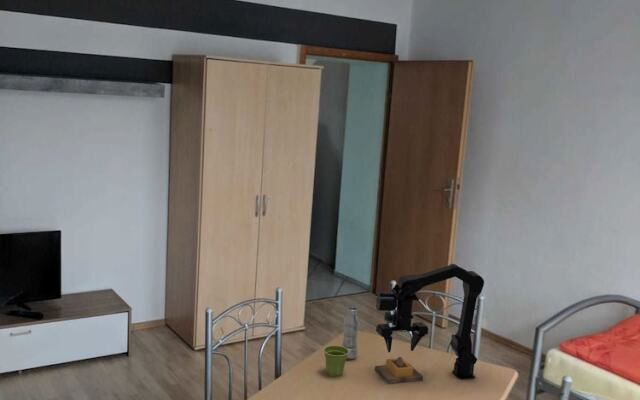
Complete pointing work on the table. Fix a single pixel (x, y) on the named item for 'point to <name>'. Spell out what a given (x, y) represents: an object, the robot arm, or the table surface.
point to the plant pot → (335, 359)
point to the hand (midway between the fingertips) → (400, 351)
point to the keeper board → (392, 379)
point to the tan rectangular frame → (399, 372)
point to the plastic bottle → (351, 332)
